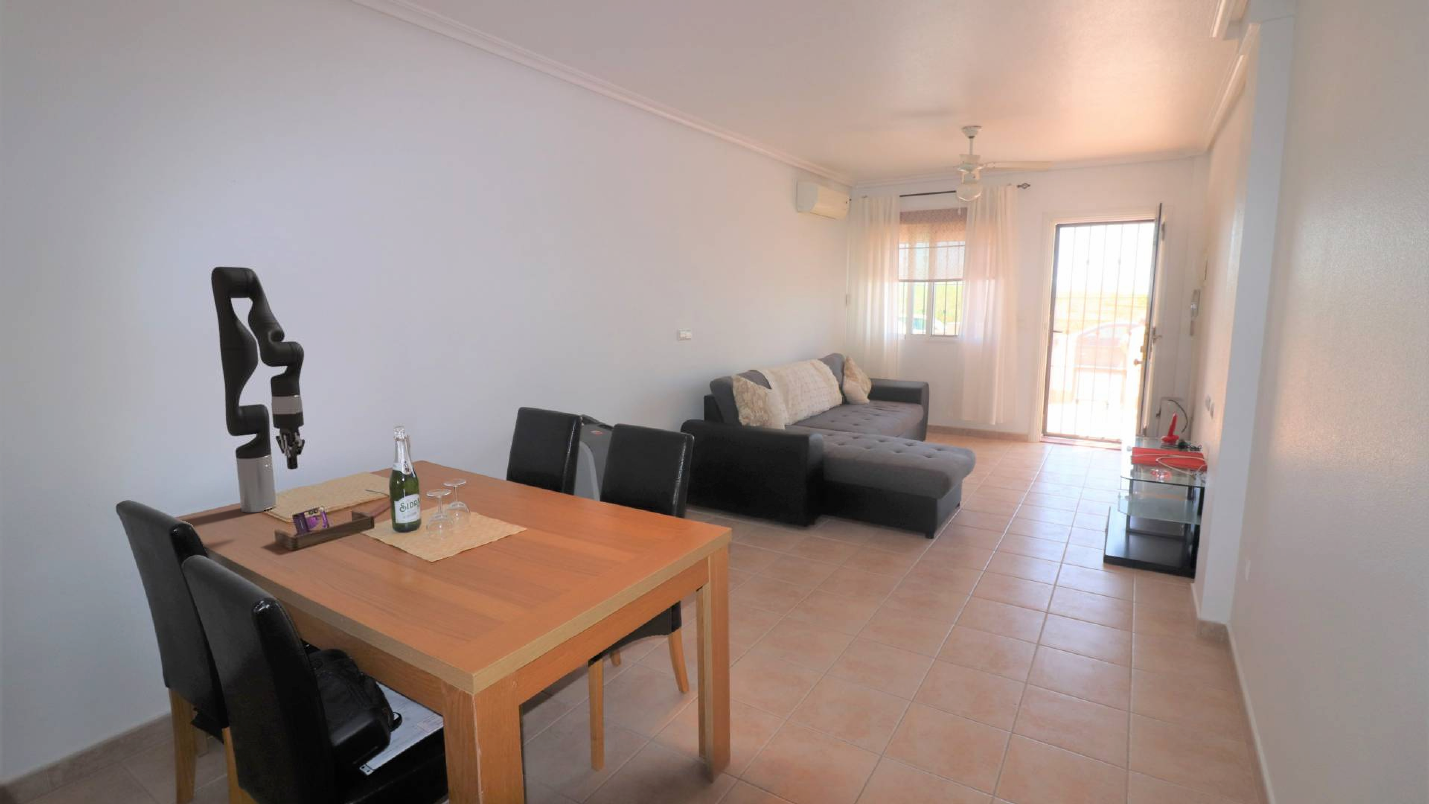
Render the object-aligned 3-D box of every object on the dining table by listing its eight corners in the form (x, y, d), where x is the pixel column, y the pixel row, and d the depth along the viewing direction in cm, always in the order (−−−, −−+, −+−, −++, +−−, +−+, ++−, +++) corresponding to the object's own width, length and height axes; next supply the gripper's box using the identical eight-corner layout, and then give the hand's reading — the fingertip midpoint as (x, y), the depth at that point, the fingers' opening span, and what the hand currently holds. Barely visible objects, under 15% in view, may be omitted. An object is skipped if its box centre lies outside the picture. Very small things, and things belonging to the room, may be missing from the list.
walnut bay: (275, 542, 183) (274, 530, 183) (355, 520, 201) (354, 509, 201) (294, 550, 178) (293, 538, 177) (374, 527, 196) (373, 516, 195)
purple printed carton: (294, 514, 187) (324, 505, 195) (283, 517, 189) (314, 508, 197) (301, 537, 187) (331, 527, 195) (290, 540, 189) (321, 530, 197)
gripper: (262, 410, 194) (268, 468, 197) (284, 414, 187) (290, 475, 189) (290, 406, 200) (295, 463, 203) (312, 411, 193) (317, 469, 196)
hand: (292, 468), depth 196 cm, fingers closed
